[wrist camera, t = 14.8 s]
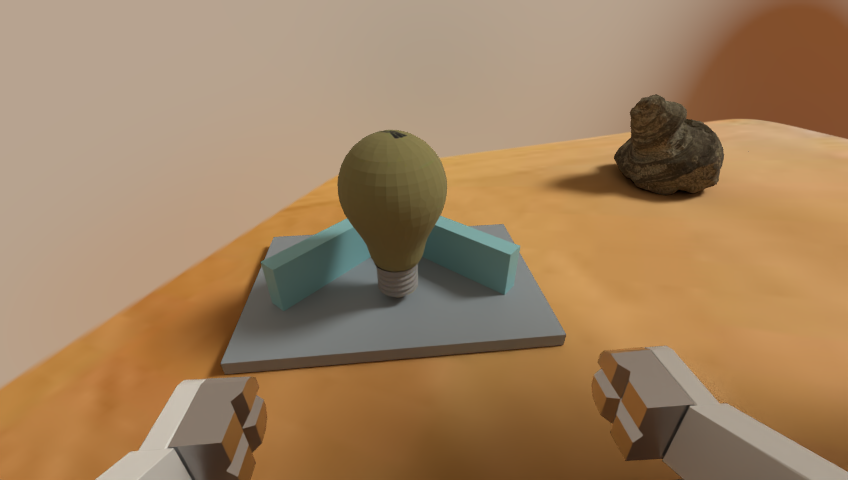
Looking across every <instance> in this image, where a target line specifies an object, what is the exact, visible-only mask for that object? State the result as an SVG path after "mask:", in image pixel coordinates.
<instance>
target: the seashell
mask: <svg viewBox="0 0 848 480" xmlns="http://www.w3.org/2000/svg"><path fill="white" fill-rule="evenodd" d="M630 115H631V138H630V139H629V140H628V141H627V142H626V143H625V144H624V145H622V146H621V147H620V148H619V149H618V151H617V152H616V154H615V156H614V159H615V161H616V163H617V165H618V167H619V170H620V171H621V172H622V173H623V175H625V176H626V178H631V179H632V181H634V183H635V185H636V186H638V187H640V188H643V189H646V190H650V191H652V192H654V193H657V194H661V195H668V194H673V193H674V192H676V191H677V190H678V189H679V190H685V191H687V192H689V193H696V192H698V191H701V190H704V189H705V188H708V187H711V186H714V185H715V184H717V182H718V180H719V174H720V168H721V167H722V163H723V159H724V154H723V147H722V144H721V142H720V140H719V138H718V137H717V135H716V133H714V132H713V131H712V130H711V129H710V128H709V127H708V126H707V125H705V124H704V123H703V122H700V121H695V120H688V119H686V115H687V112H686V109H685V108H684V107H683V106H682V105H681V104H678V103H675V102H669V101H665V99H664V98H663V97H661V96H659V95H652V96H650V97H647V98H642V99H641V100H640V101H639V102H638V103H637V104H636V106H635V107H634V108H632V110H631V112H630ZM748 152H749V151H748Z"/></svg>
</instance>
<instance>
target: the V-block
mask: <svg viewBox="0 0 848 480" xmlns="http://www.w3.org/2000/svg"><path fill="white" fill-rule="evenodd" d="M519 251H520V246H519V245H516V244H514V242H513V240H512V238H511V237H510V235H509V233H508V231H507V230H506V228H505V226H504V224H499V225H481V226H466V225H463V224H461V223H458V222H455V221H453V220H450V219H447V218H445V217H442V216H440V217H439V219H438V221H437V222H436V224H435V226H434V227H433V229H432V231H431V233H430V234H429V236H428V238H427V241H426V244H425V248H424V253H423V256H422V258H421V260H420V261H419V263H418V286H417V288H416V290H415V291H414V292H412V293H411V294H409V295H406V296H403V297H400V298H397V297H392V296H388V295H385V294H384V293H382V292H381V291H380V289H379V287H378V278H377V269H376V265H375V264H374V261H373V260H372V258H371V256H370V253H369V250H368V248H367V245H366V244H365V242H364V240H363V239H362V237H361V236H360V235H359V234H358V232H357V231H356V230H355V229H354V227H353V226H352V225H351V223H350V222H349V220H348V218H347V219H345V220H343V221H341V222H339V223H337V224H335V225H333V226H331V227H329V228H327V229H325V230H323V231H321V232H319V233H317V234H315V235H302V236H284V237H274V238H273V240H272V243H271V245H270V247H269V250H268V252H267V255H266V257H265V259H264V260H263V261H261V265H262V266H261V269H260V271H259V274H258V276H257V278H256V281H255V283H254V285H253V288H252V290H251V292H250V295H249V297H248V300H247V302H246V304H245V307H244V309H243V311H242V314H241V316H240V319H239V321H238V323H237V326H236V328H235V330H234V333H233V335H232V338H231V340H230V342H229V345H228V347H227V349H226V352H225V354H224V357H223V359H222V361H221V366H222V369H223V371H224V373H225V374H235V373H246V372H258V371H269V370H281V369H292V368H304V367H315V366H327V365H338V364H350V363H361V362H372V361H384V360H395V359H407V358H418V357H430V356H441V355H453V354H464V353H476V352H487V351H499V350H510V349H522V348H533V347H544V346H556V345H563V344H564V341H565V337H566V333H565V332H564V330H563V328H562V326H561V325H560V323H559V321H558V319H557V318H556V316H555V314H554V312H553V310H552V309H551V307H550V305H549V303H548V302H547V300H546V298H545V296H544V295H543V293H542V291H541V289H540V288H539V286H538V284H537V282H536V281H535V279H534V277H533V275H532V274H531V272H530V270H529V268H528V267H527V265H526V263H525V261H524V260H523V258H522V256H521V254H520V253H519Z"/></svg>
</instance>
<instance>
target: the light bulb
mask: <svg viewBox="0 0 848 480" xmlns="http://www.w3.org/2000/svg"><path fill="white" fill-rule="evenodd" d="M446 194H447V180H446V175H445V171H444V168H443V165H442V162H441V160H440V159H439V157H438V156H437V154H436V153H435V151H434V150H433V149H432V148H431V147H430V146H429V145H428V144H427V143H426V142H425V141H423V140H421V139H420V138H418V137H416V136H414V135H412V134H410V133H408V132H403V131H399V130H385V131H379V132H376V133H373V134H371V135H368V136H366V137H365V138H363V139H362V140H361V141H359V142H358V143H357V144H356V145H354V146H353V148H352V149H351V150H350V151H349V153H348V154H347V155H346V157H345V159H344V161H343V163H342V165H341V168H340V172H339V176H338V195H339V200H340V203H341V206H342V209H343V211H344V214H345V215H346V217H347V218H348V220H349V222H350V223H351V225H352V226H353V227H354V229H355V230H356V231H357V232H358V234H359V235H360V236H361V237H362V239H363V240H364V242H365V244H366V245H367V248H368V250H369V253H370V256H371V258H372V260H373V261H374V264H375V265H376V269H377V278H378V287H379V289H380V291H381V292H382V293H384V294H385V295H388V296H392V297H397V298H400V297H403V296H406V295H409V294H411V293H412V292H414V291H415V290H416V288H417V286H418V263H419V261H420V260H421V258H422V256H423V253H424V248H425V244H426V241H427V238H428V236H429V234H430V233H431V231H432V229H433V227H434V226H435V224H436V222H437V221H438V219H439V217H440V215H441V213H442V210H443V208H444V204H445V200H446Z"/></svg>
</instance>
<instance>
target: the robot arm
mask: <svg viewBox="0 0 848 480" xmlns="http://www.w3.org/2000/svg"><path fill="white" fill-rule="evenodd" d="M598 364H599V365H600V367H601V369H600V370H599V371H598V372H597V373H596V374H594V376H593V380H592V395H593V399H594V402H595V405H596V407H597V409H598V411H599V413H600V415H601V416H603V417H604V418H605V419H607V420H608V421H609V422H611V423H612V426H611V431H610V433H611V435H612V437H613V439H614V441H615V443H616V444H617V446H618V448H619V450H620V452H621V454H622V455H623V457H624V459H625V461H631V460H648V459H663V460H662V461H663V462H664V463H666V464H667V465H668V466H669V467H670V468H671V469H673V470H674V471H675V472H676V473H677V474H678V475H679V476H681V477H682V478H683V479H684V480H848V472H847V471H845V470H844V469H842V468H840V467H838V466H836V465H835V464H833V463H831V462H829V461H828V460H826V459H824V458H822V457H821V456H819V455H817V454H815V453H813V452H812V451H810V450H808V449H806V448H805V447H803V446H801V445H799V444H798V443H796V442H794V441H792V440H791V439H789V438H787V437H785V436H783V435H782V434H780V433H778V432H776V431H775V430H773V429H771V428H769V427H768V426H766V425H764V424H762V423H760V422H759V421H757V420H755V419H753V418H752V417H750V416H748V415H746V414H745V413H743V412H741V411H739V410H738V409H736V408H734V407H732V406H730V405H729V404H727V403H719V402H718V401H717V400H716V399H715V398H714V396H713V395H712V394H711V393H710V392H709V391H708V390H707V388H706V387H705V386H704V385H703V384H702V383H701V381H700V380H699V379H698V378H697V377H696V376H695V375H694V373H693V372H692V371H691V370H690V369H689V368H688V367H687V365H686V364H685V363H684V362H683V361H682V360H681V359H680V357H679V356H678V355H677V354H676V353H675V352H674V351H673V350H672V349H671V348H669V347H667V346H657V347H645V348H642V347H641V348H629V349H617V350H605V351H603V352H602V353H601V354H600V356H599V359H598ZM258 389H259V385H258V382H257V380H256V378H255V377H232V378H211V379H196V380H184V381H182V382H181V383H180V384H179V385H178V386H177V387H176V388H175V390H174V392H173V393H172V395H171V397H170V398H169V400H168V402H167V403H166V405H165V407H164V408H163V410H162V412H161V413H160V415H159V417H158V418H157V420H156V422H155V423H154V425H153V427H152V429H151V430H150V432H149V434H148V435H147V437H146V439H145V440H144V442H143V444H142V445H141V447H140V449H139V450H138V451H132V452H129V453H128V454H127V455H126V456H124V457H123V458H122V459H121V460H119V461H118V462H117V463H115V464H114V465H113V466H112V467H110V468H109V469H108V470H107V471H105V472H104V473H103V474H102V475H100V476H99V477H98V478H96V479H95V480H251V477H252V474H253V470H254V467H255V464H256V462H255V459H254V457H253V454H252V453H253V452H254V451H255V450H256V449H257V447H258V446H259V445H260V444H261V443H262V441H263V438H264V434H265V431H266V422H267V411H266V405H265V402H264V400H263V399H262V398H260V397H259V396H257V392H258Z"/></svg>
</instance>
